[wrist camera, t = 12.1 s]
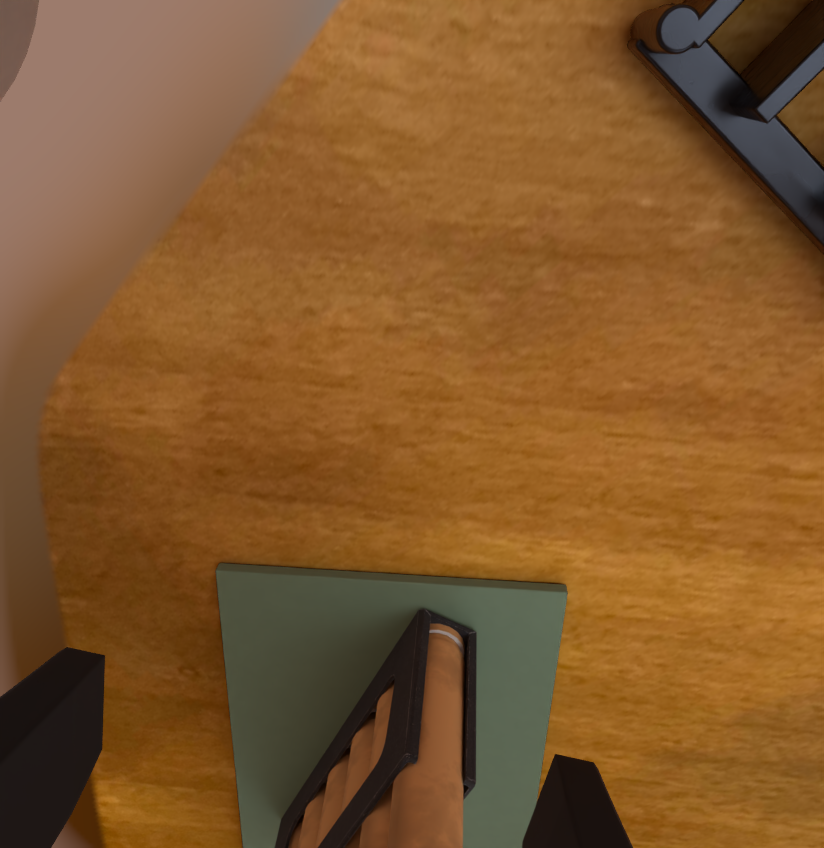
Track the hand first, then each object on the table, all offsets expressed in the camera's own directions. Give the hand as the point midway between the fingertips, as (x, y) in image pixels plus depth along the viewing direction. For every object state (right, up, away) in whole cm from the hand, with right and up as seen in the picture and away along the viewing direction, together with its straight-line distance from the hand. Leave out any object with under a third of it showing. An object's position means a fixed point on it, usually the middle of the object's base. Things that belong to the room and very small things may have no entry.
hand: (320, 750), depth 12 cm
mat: (+1, -5, +13) cm, 14 cm away
